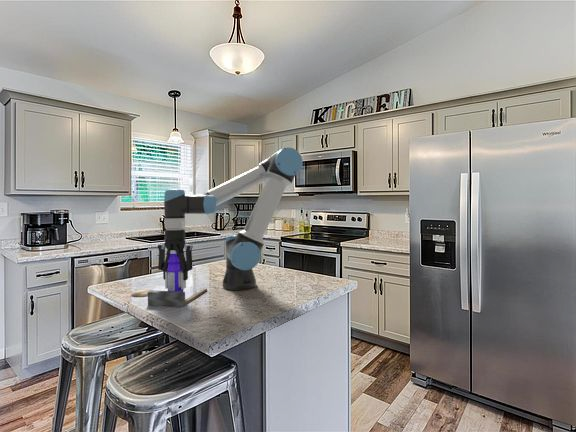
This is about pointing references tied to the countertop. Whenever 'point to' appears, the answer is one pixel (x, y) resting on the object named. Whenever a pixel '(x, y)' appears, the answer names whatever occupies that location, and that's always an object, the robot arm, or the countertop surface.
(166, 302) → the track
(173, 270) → the bottle
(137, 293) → the cork trivet
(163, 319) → the countertop surface
